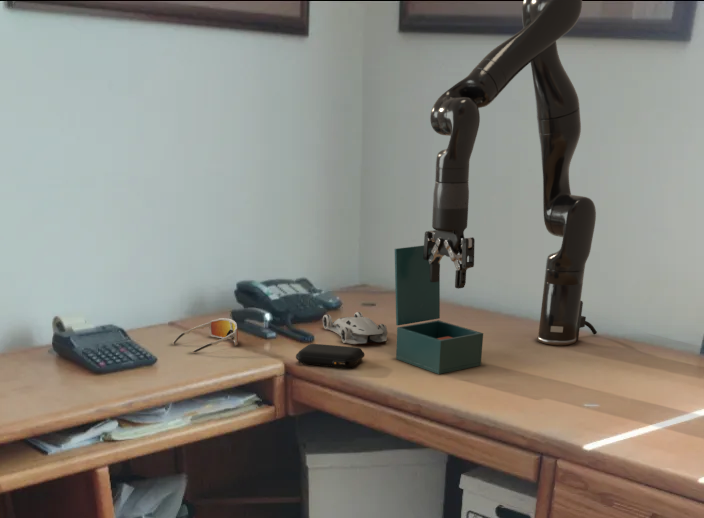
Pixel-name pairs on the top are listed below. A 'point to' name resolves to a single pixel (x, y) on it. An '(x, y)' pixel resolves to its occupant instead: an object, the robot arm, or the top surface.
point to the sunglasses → (216, 331)
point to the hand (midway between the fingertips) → (446, 284)
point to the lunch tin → (439, 346)
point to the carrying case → (330, 355)
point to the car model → (356, 329)
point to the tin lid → (415, 287)
